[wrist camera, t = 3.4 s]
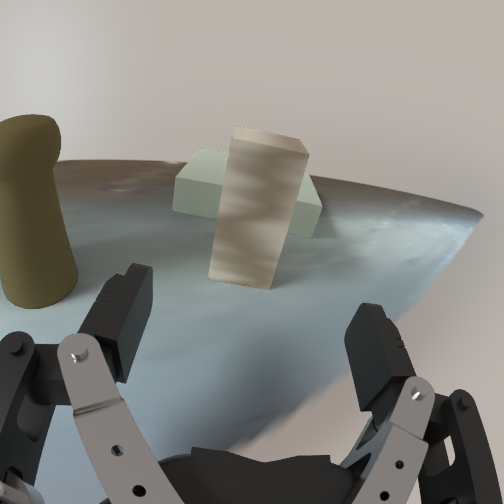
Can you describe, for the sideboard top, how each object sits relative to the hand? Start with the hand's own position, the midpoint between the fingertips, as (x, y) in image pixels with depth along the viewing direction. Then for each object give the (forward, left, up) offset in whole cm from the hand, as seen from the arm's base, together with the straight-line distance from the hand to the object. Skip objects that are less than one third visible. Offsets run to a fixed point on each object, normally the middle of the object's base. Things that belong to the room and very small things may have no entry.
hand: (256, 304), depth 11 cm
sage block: (0, +24, -6) cm, 25 cm away
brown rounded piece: (-14, +5, -6) cm, 16 cm away
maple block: (0, +11, -6) cm, 12 cm away
